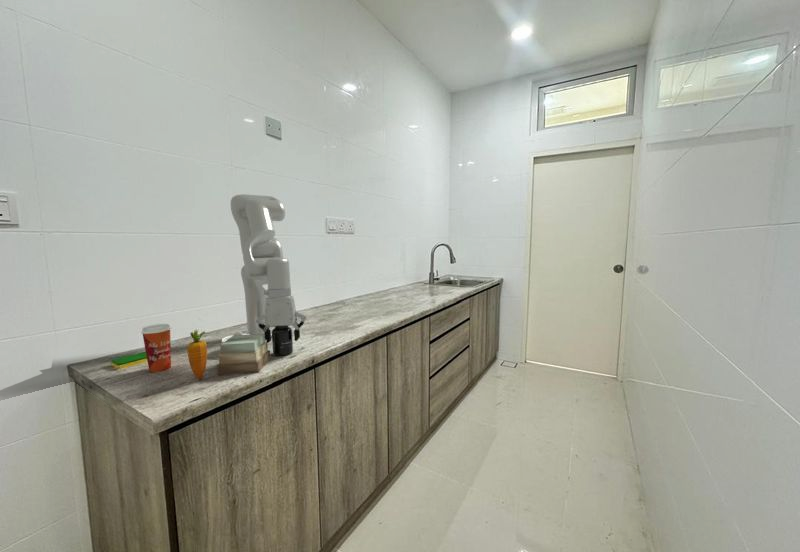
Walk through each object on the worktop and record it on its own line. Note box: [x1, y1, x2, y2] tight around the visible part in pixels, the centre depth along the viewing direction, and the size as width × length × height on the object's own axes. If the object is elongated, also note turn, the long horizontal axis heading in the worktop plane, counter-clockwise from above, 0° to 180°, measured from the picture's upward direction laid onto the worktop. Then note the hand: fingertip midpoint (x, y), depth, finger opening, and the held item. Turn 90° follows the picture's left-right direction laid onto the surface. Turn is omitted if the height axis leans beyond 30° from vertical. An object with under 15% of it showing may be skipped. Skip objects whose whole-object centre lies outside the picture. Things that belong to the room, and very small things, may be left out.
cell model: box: [221, 331, 250, 344], centre depth 120 cm, size 10×12×7 cm
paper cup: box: [140, 323, 172, 373], centre depth 103 cm, size 8×8×14 cm
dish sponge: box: [110, 351, 148, 370], centre depth 112 cm, size 7×14×2 cm, turn 147°
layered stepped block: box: [216, 334, 271, 376], centre depth 104 cm, size 12×12×9 cm
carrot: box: [186, 329, 208, 381], centre depth 94 cm, size 5×5×15 cm
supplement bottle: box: [271, 326, 294, 357], centre depth 116 cm, size 7×7×12 cm
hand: (282, 340), depth 116 cm, fingers open, 9 cm apart
